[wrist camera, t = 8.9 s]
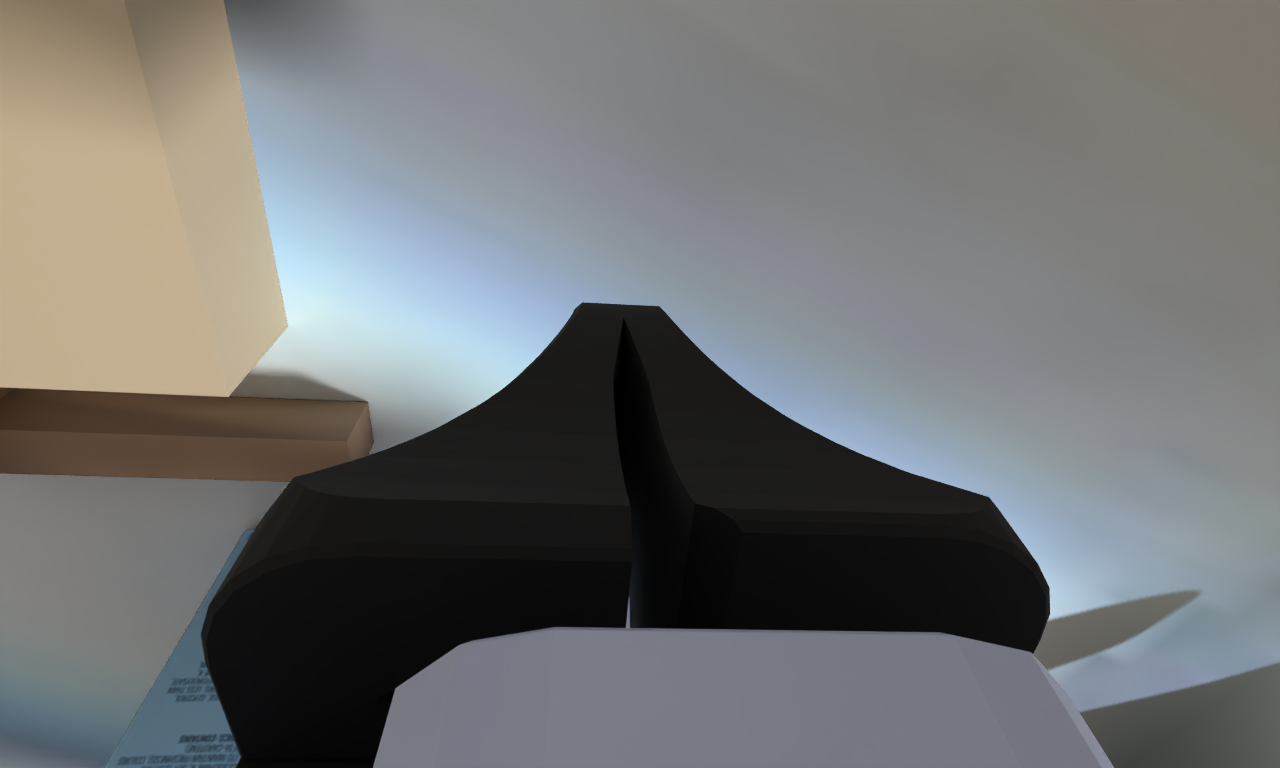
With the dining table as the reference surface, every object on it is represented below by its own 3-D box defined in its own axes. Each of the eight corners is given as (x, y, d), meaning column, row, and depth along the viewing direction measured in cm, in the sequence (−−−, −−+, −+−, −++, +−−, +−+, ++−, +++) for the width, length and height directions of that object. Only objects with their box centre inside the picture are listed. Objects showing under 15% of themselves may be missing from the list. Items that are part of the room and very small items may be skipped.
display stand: (373, 442, 22) (303, 590, 17) (-20, 429, 21) (-221, 581, 16) (273, -224, 14) (76, -332, 8) (-383, -293, 13) (-1045, -459, 8)
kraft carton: (292, 321, 20) (228, 397, 17) (30, 308, 19) (-92, 383, 16) (220, -48, 15) (111, -48, 12) (-128, -80, 15) (-346, -90, 11)
